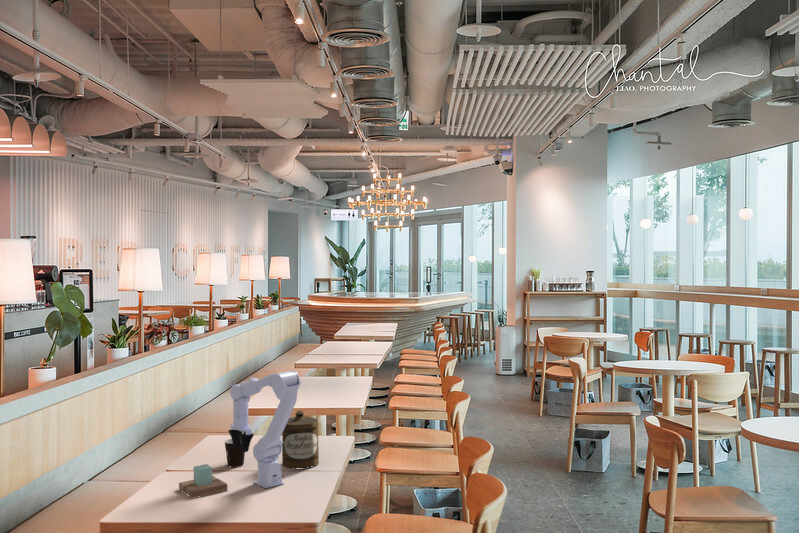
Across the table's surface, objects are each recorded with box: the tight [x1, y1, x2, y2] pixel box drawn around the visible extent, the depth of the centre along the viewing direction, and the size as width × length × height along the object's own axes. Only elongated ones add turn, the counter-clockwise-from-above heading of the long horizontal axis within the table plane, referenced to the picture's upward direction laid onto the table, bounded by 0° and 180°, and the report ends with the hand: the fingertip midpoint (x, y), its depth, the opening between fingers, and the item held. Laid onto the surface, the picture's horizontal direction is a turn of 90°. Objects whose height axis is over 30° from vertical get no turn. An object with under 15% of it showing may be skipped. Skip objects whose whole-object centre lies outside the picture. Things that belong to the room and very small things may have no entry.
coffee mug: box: [224, 438, 246, 468], centre depth 281 cm, size 12×9×10 cm
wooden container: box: [281, 410, 320, 470], centre depth 279 cm, size 15×15×22 cm
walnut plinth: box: [178, 475, 228, 499], centre depth 247 cm, size 13×13×2 cm
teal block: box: [193, 463, 213, 486], centre depth 247 cm, size 5×5×6 cm
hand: (240, 449), depth 263 cm, fingers open, 7 cm apart
